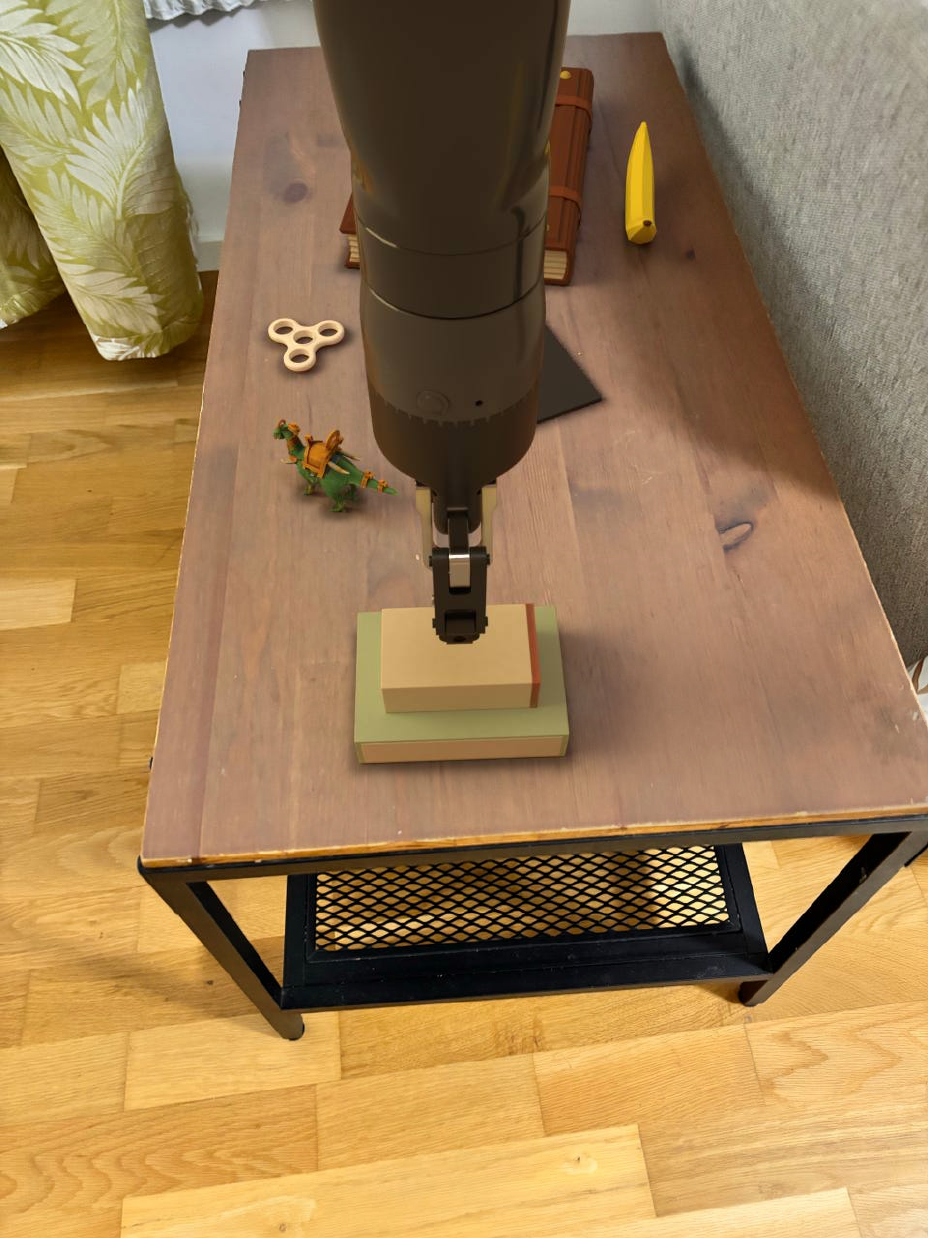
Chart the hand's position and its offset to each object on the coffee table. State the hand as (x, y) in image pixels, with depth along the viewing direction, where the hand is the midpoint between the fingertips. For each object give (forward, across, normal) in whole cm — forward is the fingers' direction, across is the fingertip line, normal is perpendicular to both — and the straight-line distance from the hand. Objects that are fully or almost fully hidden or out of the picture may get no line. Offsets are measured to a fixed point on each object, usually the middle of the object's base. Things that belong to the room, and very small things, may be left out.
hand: (456, 572), depth 53 cm
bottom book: (+15, 0, 0) cm, 15 cm away
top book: (+12, 0, 0) cm, 12 cm away
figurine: (+15, +18, +9) cm, 25 cm away
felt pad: (+15, +33, -7) cm, 37 cm away
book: (+15, +61, -4) cm, 63 cm away
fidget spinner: (+15, +36, +13) cm, 41 cm away
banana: (+15, +54, -20) cm, 59 cm away
